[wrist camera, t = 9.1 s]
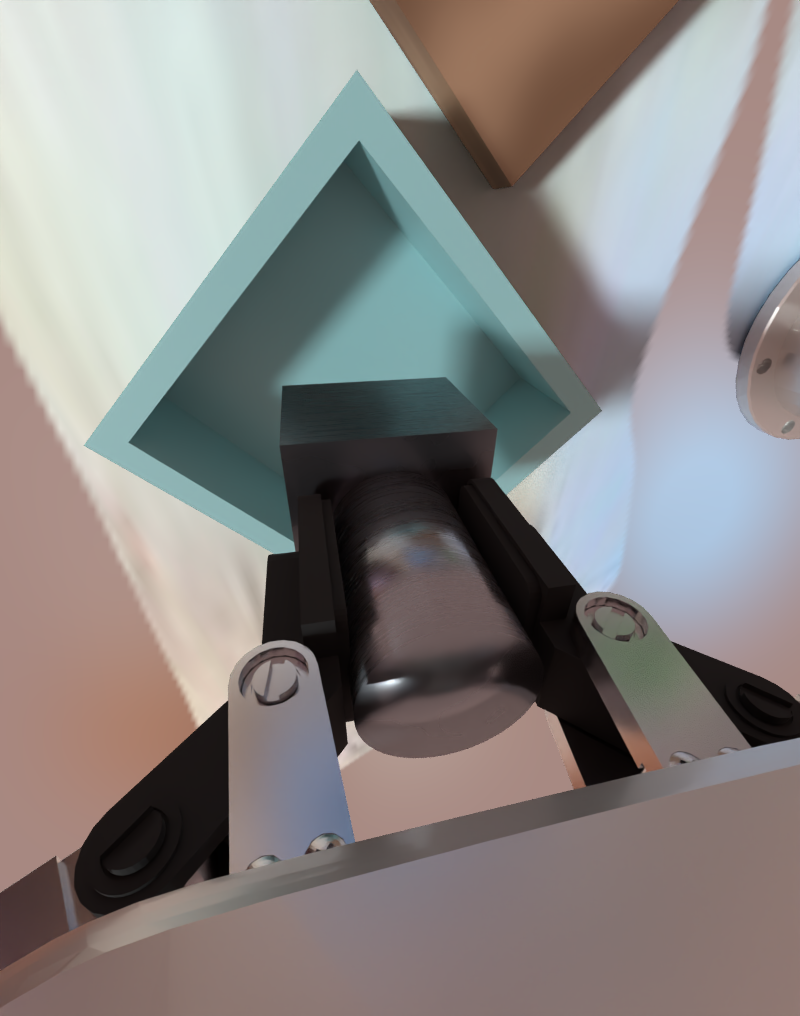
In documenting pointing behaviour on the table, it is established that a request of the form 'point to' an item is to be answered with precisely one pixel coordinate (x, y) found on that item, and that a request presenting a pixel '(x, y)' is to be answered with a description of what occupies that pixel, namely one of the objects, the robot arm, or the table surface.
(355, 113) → the bin
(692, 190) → the table surface
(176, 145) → the table surface
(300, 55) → the table surface
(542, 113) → the stud plate
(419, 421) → the square base knob
